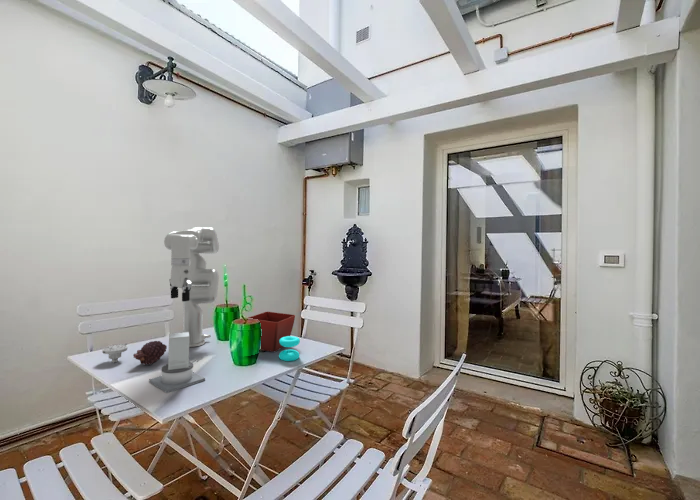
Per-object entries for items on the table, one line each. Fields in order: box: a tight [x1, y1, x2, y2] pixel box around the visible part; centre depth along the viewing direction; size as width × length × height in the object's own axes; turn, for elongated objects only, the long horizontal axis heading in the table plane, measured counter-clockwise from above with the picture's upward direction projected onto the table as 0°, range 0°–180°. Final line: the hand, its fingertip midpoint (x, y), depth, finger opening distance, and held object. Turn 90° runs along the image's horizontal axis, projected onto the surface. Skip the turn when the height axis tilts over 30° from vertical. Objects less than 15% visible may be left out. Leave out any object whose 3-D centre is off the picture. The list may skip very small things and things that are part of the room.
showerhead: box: [101, 342, 128, 363], centre depth 154 cm, size 9×7×10 cm
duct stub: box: [148, 361, 206, 394], centre depth 135 cm, size 15×15×6 cm
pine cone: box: [133, 340, 167, 366], centre depth 153 cm, size 18×10×10 cm, turn 169°
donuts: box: [278, 335, 301, 362], centre depth 165 cm, size 10×10×10 cm
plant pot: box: [247, 311, 296, 353], centre depth 181 cm, size 19×19×17 cm
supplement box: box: [167, 332, 190, 370], centre depth 135 cm, size 7×7×13 cm
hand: (180, 299), depth 153 cm, fingers open, 9 cm apart
